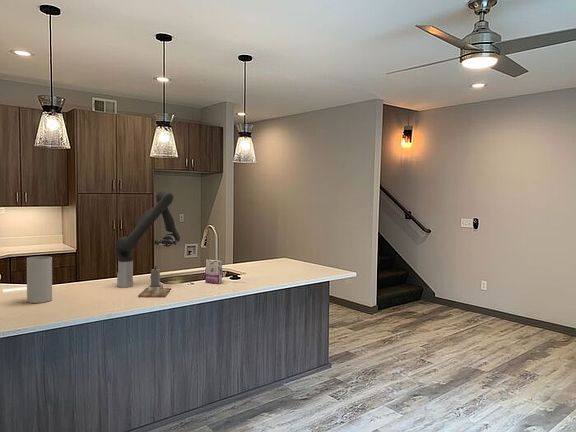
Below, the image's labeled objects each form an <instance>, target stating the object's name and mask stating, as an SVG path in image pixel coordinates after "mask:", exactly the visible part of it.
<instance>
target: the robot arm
mask: <svg viewBox="0 0 576 432" xmlns="http://www.w3.org/2000/svg"><path fill="white" fill-rule="evenodd" d="M155 198H156V199H155V200H156V204H155V205H154V206H152V207H151V208H149V209H147V210H146V211H145V212H143V214H142V215H140V217H139V218H138V219H137V221H136V223H135V226H134V229H133V231H132V232H130V234H129V235H128V236H121V237H120V238H118V240H117V242H116V256H117V259H118V260H117V263H118V265H117V269H118V270H117V273H116V276H117V279H116V281H117V282H116V284H117V285H116V287H117V288H131V287H133V285H134V283H133V282H134V280H133V279H134V273H133V272H134V271H133V270H134V257H133V255H132V253H131V251H132V250H133V249H134V248H135V247H136V246H137V245H138V243H139V241H140V240H141V238H142V237H143V235H144V234H145V233H147V231H148V230H149V229H150V228H151V226H153V224H154V223H155V221H156V220H157V219H158V218H159V217H160V215H161V217H162V219H163V223H164V228H165V231H166V232H167V233H168V234H166V235H165V236H163V237H162V239H156V240H154V245H156V246H159V245H160V246H163V247H166V248H168V247H172V246H173V245H177V244H178V242H180V240H181V236H180V233H179V232H178V230H177V227H176V225H175V220H174V218H173V216H172V213H171V212H170V210H169V206H171V204H172V203H173V200H174V195H173V194H172V193H171V192H169V191H168V192H167V191H164V190H163V191H158V192H157V193H156V196H155Z"/></svg>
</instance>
